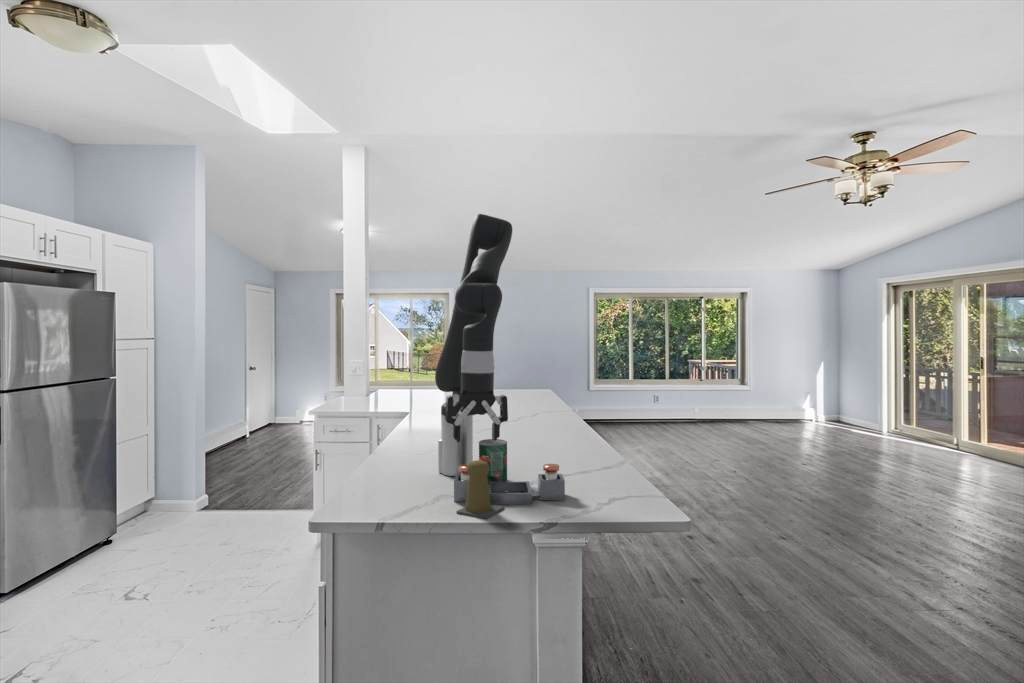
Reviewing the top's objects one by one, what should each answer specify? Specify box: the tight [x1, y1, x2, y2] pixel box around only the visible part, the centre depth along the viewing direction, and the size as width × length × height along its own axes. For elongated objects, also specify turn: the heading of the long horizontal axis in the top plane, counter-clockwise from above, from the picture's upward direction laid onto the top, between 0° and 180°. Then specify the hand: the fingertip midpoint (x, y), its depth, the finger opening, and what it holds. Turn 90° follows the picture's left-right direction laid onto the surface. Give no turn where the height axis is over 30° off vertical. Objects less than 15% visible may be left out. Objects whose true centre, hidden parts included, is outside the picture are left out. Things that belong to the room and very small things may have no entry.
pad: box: [456, 504, 505, 520], centre depth 124 cm, size 8×8×1 cm
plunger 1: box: [459, 465, 469, 480], centre depth 133 cm, size 4×4×7 cm
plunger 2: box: [542, 463, 560, 480], centre depth 134 cm, size 4×4×7 cm
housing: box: [453, 473, 566, 505], centre depth 134 cm, size 27×11×5 cm, turn 92°
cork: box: [464, 459, 491, 513], centre depth 124 cm, size 6×6×11 cm
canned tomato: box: [478, 438, 508, 482], centre depth 149 cm, size 8×8×11 cm
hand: (476, 440), depth 123 cm, fingers open, 8 cm apart
